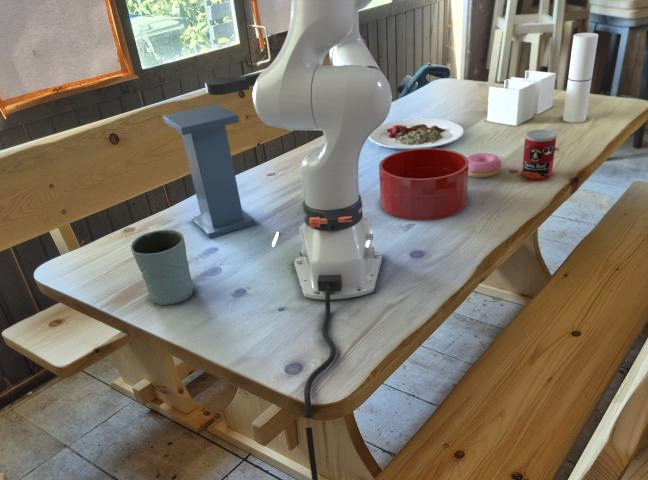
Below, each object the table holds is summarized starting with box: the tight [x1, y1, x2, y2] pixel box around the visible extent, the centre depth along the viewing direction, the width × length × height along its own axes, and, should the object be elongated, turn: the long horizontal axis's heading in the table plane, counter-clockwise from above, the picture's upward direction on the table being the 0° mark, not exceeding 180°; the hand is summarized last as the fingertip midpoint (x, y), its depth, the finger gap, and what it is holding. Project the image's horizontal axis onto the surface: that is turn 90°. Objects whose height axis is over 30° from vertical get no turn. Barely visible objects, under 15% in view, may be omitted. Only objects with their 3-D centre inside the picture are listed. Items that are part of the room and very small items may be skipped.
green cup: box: [130, 229, 194, 306], centre depth 118 cm, size 10×10×12 cm
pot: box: [378, 147, 469, 221], centre depth 148 cm, size 22×22×10 cm
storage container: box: [486, 69, 557, 127], centre depth 202 cm, size 25×11×11 cm, turn 139°
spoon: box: [204, 71, 263, 96], centre depth 135 cm, size 18×7×2 cm, turn 123°
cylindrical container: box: [562, 32, 599, 123], centre depth 189 cm, size 7×7×25 cm
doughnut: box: [466, 152, 503, 178], centre depth 163 cm, size 11×11×4 cm
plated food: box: [368, 117, 464, 151], centre depth 191 cm, size 30×30×3 cm
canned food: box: [521, 129, 557, 182], centre depth 157 cm, size 8×8×11 cm
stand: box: [162, 103, 256, 239], centre depth 141 cm, size 13×13×26 cm
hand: (267, 74), depth 137 cm, fingers closed on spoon, 2 cm apart
